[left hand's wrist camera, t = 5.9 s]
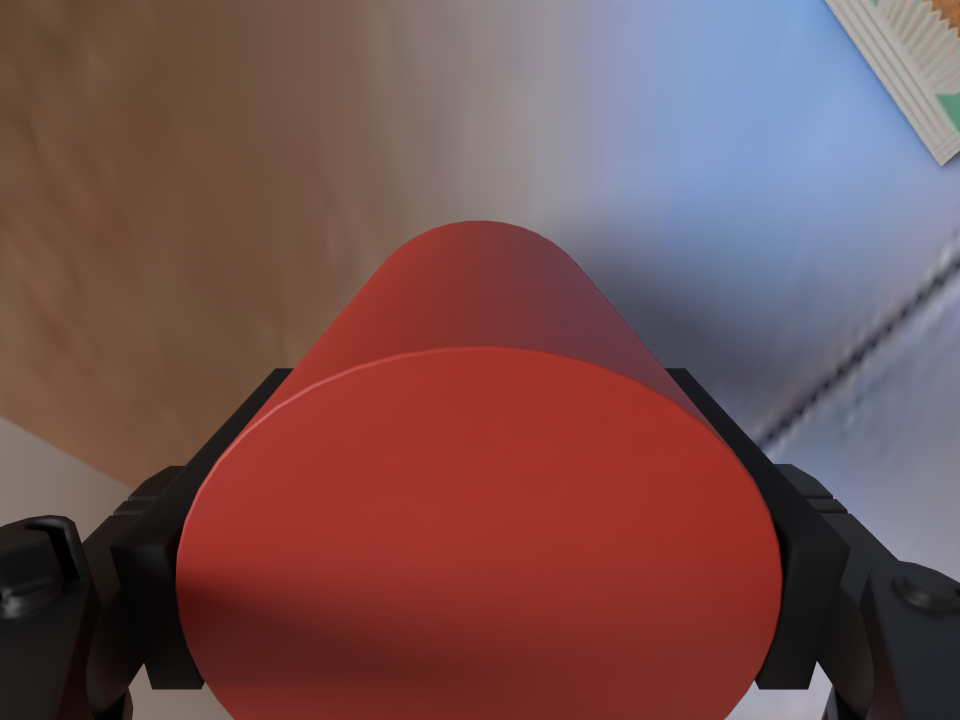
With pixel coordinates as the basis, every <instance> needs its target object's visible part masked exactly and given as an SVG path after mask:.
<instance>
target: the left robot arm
mask: <svg viewBox="0 0 960 720" xmlns="http://www.w3.org/2000/svg"><path fill="white" fill-rule="evenodd" d="M664 369H665V370H666V371H667V372H668V373H669V375H670V376H671V377H672V378H673V379H674V381H675V382H676V383H677V384H678V385H679V387H680V388H681V389H682V390H683V391H684V393H685V394H686V395H687V396H688V397H689V399H690V400H691V401H692V402H693V403H694V405H695V406H696V407H697V408H698V409H699V411H700V412H701V413H702V414H703V415H704V417H705V418H706V419H707V420H708V421H709V423H710V424H711V425H712V426H713V427H714V429H715V430H716V431H717V432H718V433H719V435H720V436H721V437H722V438H723V439H724V441H725V442H726V443H727V444H728V445H729V447H730V448H731V449H732V450H733V452H734V453H735V454H736V456H737V457H738V458H739V460H740V461H741V463H742V464H743V465H744V467H745V468H746V470H747V471H748V472H749V474H750V475H751V476H752V478H753V479H754V481H755V483H756V485H757V487H758V489H759V491H760V493H761V495H762V497H763V499H764V501H765V503H766V505H767V507H768V509H769V511H770V514H771V518H772V521H773V525H774V528H775V531H776V535H777V538H778V541H779V548H780V557H781V565H782V574H783V582H782V598H781V610H780V614H779V618H778V623H777V627H776V631H775V635H774V639H773V641H772V644H771V646H770V649H769V651H768V654H767V656H766V658H765V661H764V663H763V666H762V667H761V669H760V671H759V672H758V674H757V676H756V678H755V679H754V680H755V682H756V684H757V686H758V688H759V689H769V690H808V688H809V685H810V682H811V678H812V675H813V672H814V668H815V665H816V662H817V661H818V663H819V664H820V666H821V668H822V669H823V671H824V672H825V674H826V675H827V677H828V678H829V680H830V681H831V683H832V684H833V685H832V688H831V691H830V694H829V698H828V701H827V704H826V707H825V710H824V713H823V716H822V719H821V720H960V583H959V582H957V581H955V580H953V579H951V578H950V577H948V576H946V575H944V574H942V573H940V572H938V571H936V570H933V569H930V568H927V567H924V566H921V565H918V564H916V563H910V562H903V561H899V560H898V559H897V558H896V557H895V556H893V555H892V554H891V553H890V552H889V551H888V550H887V549H886V548H885V547H884V546H883V545H882V544H881V543H880V542H879V541H878V540H877V539H876V538H875V537H874V536H873V535H872V534H871V533H870V532H869V531H868V530H867V529H866V528H865V527H864V526H863V525H862V524H861V523H860V522H859V521H858V520H857V519H856V518H855V517H854V516H853V515H852V514H848V512H847V509H846V508H845V507H844V506H843V505H842V504H841V503H840V502H839V501H838V500H837V499H833V495H832V494H831V493H830V492H829V491H828V490H827V489H826V488H825V487H824V486H823V485H822V484H821V483H820V482H819V481H818V480H816V479H815V478H814V477H812V476H810V475H808V474H807V473H805V472H803V471H802V470H800V469H798V468H796V467H795V466H793V465H791V464H773V463H772V462H771V461H770V460H769V459H768V458H767V457H766V455H765V454H764V453H763V452H762V451H761V450H760V449H759V448H758V447H757V446H756V445H755V444H754V443H753V441H752V440H751V439H750V438H749V437H748V436H747V435H746V434H745V433H744V432H743V431H742V430H741V429H740V427H739V426H738V425H737V424H736V423H735V422H734V421H733V420H732V419H731V418H730V417H729V416H728V414H727V413H726V412H725V411H724V410H723V409H722V408H721V407H720V406H719V405H718V404H717V403H716V402H715V400H714V399H713V398H712V397H711V396H710V395H709V394H708V393H707V392H706V391H705V390H704V389H703V387H702V386H701V385H700V384H699V383H698V382H697V381H696V380H695V379H694V378H693V377H692V376H691V375H690V373H689V372H688V371H687V370H686V369H685V368H664ZM293 370H294V368H275V370H274V371H273V372H272V373H271V374H270V375H269V376H268V377H267V378H266V379H265V380H264V381H263V383H262V384H261V385H260V386H259V387H258V388H257V389H256V390H255V391H254V392H253V393H252V394H251V395H250V397H249V398H248V399H247V400H246V401H245V402H244V403H243V404H242V405H241V406H240V407H239V408H238V409H237V411H236V412H235V413H234V414H233V415H232V416H231V417H230V418H229V419H228V420H227V421H226V422H225V424H224V425H223V426H222V427H221V428H220V429H219V430H218V431H217V432H216V433H215V434H214V435H213V436H212V438H211V439H210V440H209V441H208V442H207V443H206V444H205V445H204V446H203V447H202V448H201V449H200V451H199V452H198V453H197V454H196V455H195V456H194V457H193V458H192V459H191V460H190V461H189V462H188V463H187V465H186V466H169V467H167V468H166V469H164V470H162V471H161V472H159V473H157V474H156V475H154V476H152V477H150V478H149V479H147V480H145V481H144V482H143V483H142V484H141V485H140V486H139V487H138V488H137V489H136V490H135V491H134V492H133V493H132V494H131V495H130V496H129V497H128V501H124V502H123V503H122V504H121V505H120V506H119V507H118V508H117V509H116V510H115V511H114V514H113V516H109V517H108V518H107V519H106V520H105V521H104V522H103V523H102V524H101V525H100V526H99V527H98V528H97V529H96V530H95V531H94V532H93V533H92V534H91V535H90V536H89V537H88V538H87V539H86V540H85V541H84V542H83V543H81V540H80V537H79V534H78V531H77V528H76V525H75V522H73V521H72V520H70V519H69V518H67V517H65V516H55V515H46V516H39V517H32V518H27V519H23V520H20V521H17V522H13V523H10V524H7V525H4V526H2V527H0V720H132V715H133V704H132V699H131V694H130V691H129V688H128V686H129V685H130V683H131V682H132V680H133V679H134V677H135V676H136V674H137V673H138V671H139V669H140V668H141V666H142V665H143V663H144V664H145V667H146V670H147V674H148V677H149V680H150V684H151V687H152V689H201V688H202V686H203V685H204V683H205V681H204V679H203V677H202V676H201V674H200V673H199V670H198V668H197V666H196V664H195V662H194V660H193V658H192V655H191V653H190V651H189V649H188V647H187V644H186V640H185V637H184V633H183V630H182V626H181V623H180V619H179V614H178V605H177V596H176V588H175V584H176V567H177V552H178V548H179V544H180V540H181V536H182V531H183V527H184V523H185V520H186V517H187V515H188V513H189V510H190V508H191V506H192V503H193V501H194V499H195V496H196V494H197V492H198V490H199V488H200V486H201V485H202V483H203V482H204V480H205V479H206V477H207V476H208V474H209V472H210V471H211V469H212V468H213V466H214V465H215V463H216V462H217V460H218V459H219V458H220V456H221V455H222V454H223V453H224V452H225V450H226V449H227V448H228V447H229V446H230V444H231V443H232V442H233V441H234V440H235V438H236V437H237V436H238V435H239V434H240V433H241V431H242V430H243V429H244V428H245V427H246V425H247V424H248V423H249V422H250V421H251V419H252V418H253V417H254V416H255V415H256V414H257V412H258V411H259V410H260V409H261V408H262V406H263V405H264V404H265V403H266V402H267V400H268V399H269V398H270V397H271V396H272V394H273V393H274V392H275V391H276V390H277V389H278V387H279V386H280V385H281V384H282V383H283V381H284V380H285V379H286V378H287V377H288V375H289V374H290V373H291V372H292V371H293Z"/></svg>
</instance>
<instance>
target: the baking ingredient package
mask: <svg viewBox="0 0 960 720" xmlns="http://www.w3.org/2000/svg"><path fill="white" fill-rule="evenodd" d="M825 1H826V3H827V4H828V6H829V7H830V9H831V10H832V12H833V13H834V14H835V16H836V17H837V19H838V20H839V22H840V23H841V25H842V26H843V28H844V29H845V30H846V32H847V33H848V35H849V36H850V38H851V39H852V41H853V42H854V43H855V45H856V46H857V48H858V49H859V51H860V52H861V54H862V55H863V56H864V58H865V59H866V61H867V62H868V64H869V65H870V67H871V68H872V69H873V71H874V72H875V74H876V75H877V77H878V78H879V79H880V81H881V82H882V84H883V85H884V87H885V88H886V90H887V91H888V92H889V94H890V95H891V97H892V98H893V100H894V101H895V102H896V104H897V105H898V107H899V108H900V110H901V111H902V113H903V114H904V115H905V117H906V118H907V120H908V121H909V123H910V124H911V125H912V127H913V128H914V130H915V131H916V133H917V134H918V135H919V137H920V138H921V140H922V141H923V142H924V144H925V145H926V146H927V148H928V149H929V150H930V152H931V154H932V155H933V156H934V158H935V159H936V161H937V162H938V164H939V165H940V166H942V165H944V164H945V163H946V162H947V161H948V160H949V159H951V158H952V157H953V156H954V155H955V154H956V153H958V152H959V151H960V0H825Z"/></svg>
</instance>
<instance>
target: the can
mask: <svg viewBox="0 0 960 720" xmlns="http://www.w3.org/2000/svg"><path fill="white" fill-rule="evenodd" d="M782 582H783V574H782V565H781V557H780V548H779V541H778V538H777V535H776V531H775V528H774V525H773V521H772V518H771V514H770V511H769V509H768V507H767V505H766V503H765V501H764V499H763V497H762V495H761V493H760V491H759V489H758V487H757V485H756V483H755V481H754V479H753V478H752V476H751V475H750V474H749V472H748V471H747V470H746V468H745V467H744V465H743V464H742V463H741V461H740V460H739V458H738V457H737V456H736V454H735V453H734V452H733V450H732V449H731V448H730V447H729V445H728V444H727V443H726V442H725V441H724V439H723V438H722V437H721V436H720V435H719V433H718V432H717V431H716V430H715V429H714V427H713V426H712V425H711V424H710V423H709V421H708V420H707V419H706V418H705V417H704V415H703V414H702V413H701V412H700V411H699V409H698V408H697V407H696V406H695V405H694V403H693V402H692V401H691V400H690V399H689V397H688V396H687V395H686V394H685V393H684V391H683V390H682V389H681V388H680V387H679V385H678V384H677V383H676V382H675V381H674V379H673V378H672V377H671V376H670V375H669V373H668V372H667V371H666V370H665V369H664V367H663V366H662V365H661V364H660V363H659V362H658V360H657V359H656V358H655V357H654V356H653V354H652V353H651V352H650V351H649V350H648V348H647V347H646V346H645V345H644V344H643V342H642V341H641V340H640V339H639V338H638V336H637V335H636V334H635V333H634V332H633V330H632V329H631V328H630V327H629V326H628V324H627V323H626V322H625V321H624V320H623V318H622V317H621V316H620V315H619V314H618V312H617V311H616V310H615V309H614V308H613V306H612V305H611V304H610V303H609V302H608V300H607V299H606V298H605V297H604V296H603V294H602V293H601V292H600V291H599V290H598V288H597V287H596V286H595V285H594V284H593V282H592V281H591V280H590V279H589V278H588V276H587V275H586V274H585V273H584V272H583V270H582V269H581V268H580V267H579V266H578V265H577V263H576V262H575V261H574V260H573V259H572V258H571V257H570V256H569V255H568V254H567V253H566V252H564V251H563V250H562V249H560V248H559V247H558V246H557V245H555V244H554V243H553V242H551V241H549V240H547V239H546V238H544V237H542V236H541V235H539V234H537V233H534V232H532V231H529V230H527V229H524V228H522V227H519V226H515V225H511V224H507V223H502V222H493V221H465V222H458V223H452V224H448V225H444V226H441V227H438V228H434V229H432V230H430V231H427V232H425V233H423V234H421V235H419V236H417V237H415V238H413V239H412V240H410V241H409V242H407V243H405V244H404V245H402V246H401V247H400V248H399V249H398V250H396V251H395V252H394V253H393V254H392V255H390V256H389V257H388V258H387V260H386V261H385V262H384V263H383V264H382V265H381V266H380V267H379V268H378V270H377V271H376V272H375V273H374V274H373V276H372V277H371V278H370V279H369V280H368V282H367V283H366V284H365V285H364V286H363V287H362V289H361V290H360V291H359V292H358V293H357V295H356V296H355V297H354V298H353V299H352V301H351V302H350V303H349V304H348V305H347V307H346V308H345V309H344V310H343V311H342V312H341V314H340V315H339V316H338V317H337V318H336V320H335V321H334V322H333V323H332V324H331V326H330V327H329V328H328V329H327V330H326V331H325V333H324V334H323V335H322V336H321V337H320V339H319V340H318V341H317V342H316V343H315V345H314V346H313V347H312V348H311V349H310V351H309V352H308V353H307V354H306V355H305V356H304V358H303V359H302V360H301V361H300V362H299V364H298V365H297V366H296V367H295V368H294V370H293V371H292V372H291V373H290V374H289V375H288V377H287V378H286V379H285V380H284V381H283V383H282V384H281V385H280V386H279V387H278V389H277V390H276V391H275V392H274V393H273V394H272V396H271V397H270V398H269V399H268V400H267V402H266V403H265V404H264V405H263V406H262V408H261V409H260V410H259V411H258V412H257V414H256V415H255V416H254V417H253V418H252V419H251V421H250V422H249V423H248V424H247V425H246V427H245V428H244V429H243V430H242V431H241V433H240V434H239V435H238V436H237V437H236V438H235V440H234V441H233V442H232V443H231V444H230V446H229V447H228V448H227V449H226V450H225V452H224V453H223V454H222V455H221V456H220V458H219V459H218V460H217V462H216V463H215V465H214V466H213V468H212V469H211V471H210V472H209V474H208V476H207V477H206V479H205V480H204V482H203V483H202V485H201V486H200V488H199V490H198V492H197V494H196V496H195V499H194V501H193V503H192V506H191V508H190V510H189V513H188V515H187V517H186V520H185V523H184V527H183V531H182V536H181V540H180V544H179V548H178V552H177V567H176V584H175V588H176V596H177V605H178V614H179V619H180V623H181V626H182V630H183V633H184V637H185V640H186V644H187V647H188V649H189V651H190V653H191V655H192V658H193V660H194V662H195V664H196V666H197V668H198V670H199V673H200V674H201V676H202V677H203V679H204V681H205V682H206V684H207V685H208V687H209V688H210V690H211V691H212V693H213V694H214V696H215V697H216V699H217V700H218V701H219V702H220V704H221V705H222V706H223V707H224V708H225V709H226V711H227V712H228V713H229V714H230V715H231V716H232V717H233V719H234V720H724V719H725V718H726V717H727V716H728V715H729V714H730V713H731V711H732V710H733V709H734V708H735V706H736V705H737V704H738V702H739V701H740V700H741V699H742V697H743V696H744V695H745V694H746V692H747V691H748V689H749V688H750V686H751V684H752V683H753V681H754V679H755V678H756V676H757V674H758V672H759V671H760V669H761V667H762V666H763V663H764V661H765V658H766V656H767V654H768V651H769V649H770V646H771V644H772V641H773V639H774V635H775V631H776V627H777V623H778V618H779V614H780V610H781V598H782Z"/></svg>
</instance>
